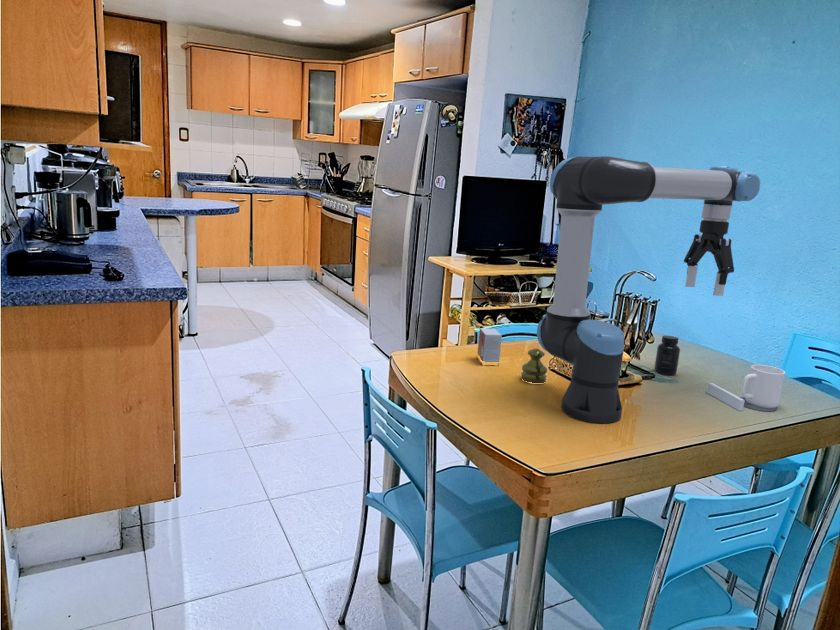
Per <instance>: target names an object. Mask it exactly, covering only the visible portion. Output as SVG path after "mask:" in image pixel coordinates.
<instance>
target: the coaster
mask: <svg viewBox="0 0 840 630" xmlns="http://www.w3.org/2000/svg"><path fill="white" fill-rule="evenodd" d="M739 398H741V399H743V400H745V401H744V406H743V408H747V409H750V410H754V411H759V412H763V413H764V412H765V413H766V412H767V413H771V412H772V411H773V412H776V411H777V409H778V406H777V407H776V408H763V407H758V406H755V405H752V404H750V403H748V402H747V401H746V399H745V398H744V397H743V396H742V397H741V396H740V397H739Z"/></svg>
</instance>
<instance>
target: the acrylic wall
mask: <svg viewBox="0 0 840 630" xmlns="http://www.w3.org/2000/svg"><path fill="white" fill-rule="evenodd" d="M706 393H707V394H709V395H710V396H712V397H714V398H716V399H718V400H720V401H721V402H722V403H724V404H726V405H727V406H730V407H731V408H734V410H736V411H742V412H743V411H744V401H745V400H743V399H741V398H740V397H739V396H738V395H736V394H734V393H732V392H730V391H728V390H726V389H724V388H722V387H721V386H719V385H717V384H715V383H713V382H707V388H706Z"/></svg>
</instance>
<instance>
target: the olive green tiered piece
mask: <svg viewBox="0 0 840 630" xmlns="http://www.w3.org/2000/svg"><path fill="white" fill-rule="evenodd" d="M527 354H528V355H529V357H530V360H529V361H527V362H526V363H523V364H522V366H521V369H522V372H521V373H520V374H521V375H520V379H521V378H522V379H523V380H524V381H527V382H532V383H544V382H545V383H547V372H548V367H547V366H546V365H544V363H543V362H542V361H541V359H542V358H543V357H545V355H546V353H545V352H544V351H543V350H541V349H540V348H532V349H530V350H528V351H527ZM545 383H544V384H545Z"/></svg>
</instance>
